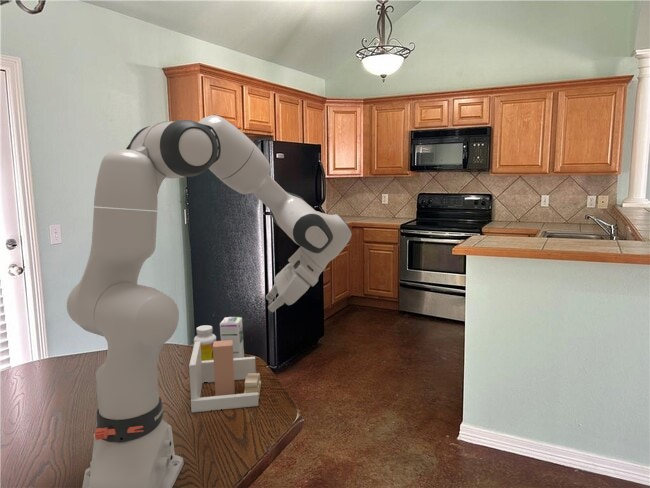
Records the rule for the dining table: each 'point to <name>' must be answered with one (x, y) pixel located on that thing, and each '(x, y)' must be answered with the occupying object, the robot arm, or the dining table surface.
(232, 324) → the syrup box
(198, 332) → the supplement bottle
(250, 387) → the offcut stack
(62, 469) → the dining table surface
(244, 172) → the robot arm
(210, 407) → the offcut rack
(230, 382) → the salmon pink rectangular block
